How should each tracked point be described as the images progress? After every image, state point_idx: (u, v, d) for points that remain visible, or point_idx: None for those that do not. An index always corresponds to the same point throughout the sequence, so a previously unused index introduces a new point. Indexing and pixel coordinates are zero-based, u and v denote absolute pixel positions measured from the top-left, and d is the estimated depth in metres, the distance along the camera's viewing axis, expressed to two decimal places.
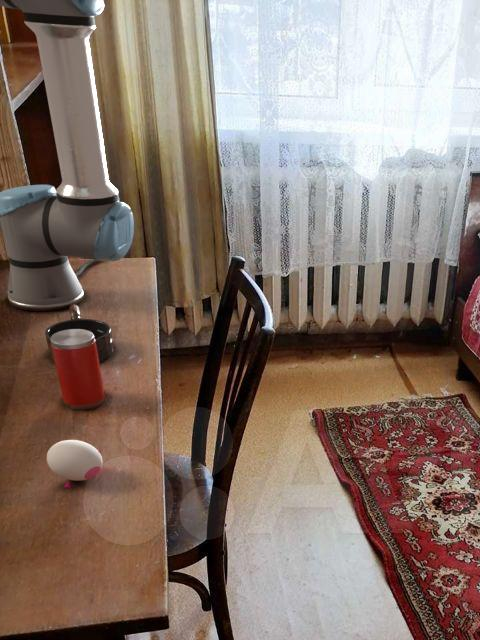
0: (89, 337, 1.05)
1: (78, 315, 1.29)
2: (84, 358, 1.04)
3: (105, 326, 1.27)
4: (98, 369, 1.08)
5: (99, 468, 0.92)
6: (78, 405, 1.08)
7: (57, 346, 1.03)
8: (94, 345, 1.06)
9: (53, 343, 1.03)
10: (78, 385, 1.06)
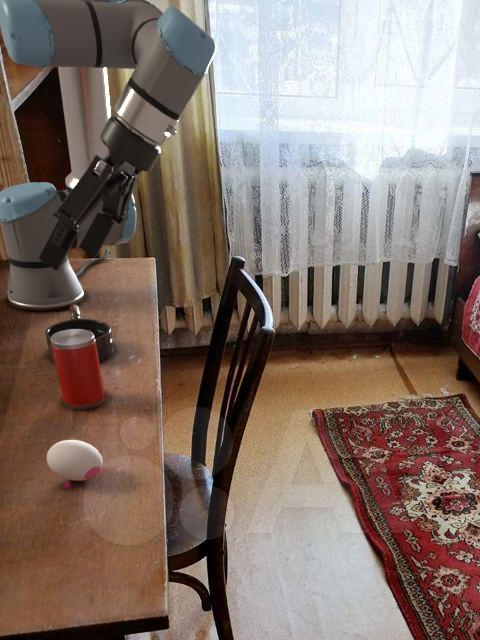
0: (89, 337, 1.05)
1: (78, 315, 1.29)
2: (84, 358, 1.04)
3: (105, 326, 1.27)
4: (98, 369, 1.08)
5: (99, 468, 0.92)
6: (78, 405, 1.08)
7: (57, 346, 1.03)
8: (94, 345, 1.06)
9: (53, 343, 1.03)
10: (78, 385, 1.06)
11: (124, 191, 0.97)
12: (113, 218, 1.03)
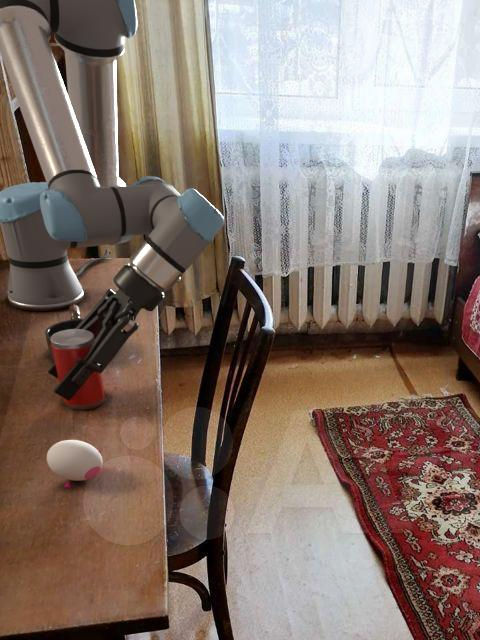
0: (89, 337, 1.05)
1: (78, 315, 1.29)
2: None
3: None
4: None
5: (99, 468, 0.92)
6: (78, 405, 1.08)
7: (57, 346, 1.03)
8: None
9: (53, 343, 1.03)
10: None
11: None
12: None
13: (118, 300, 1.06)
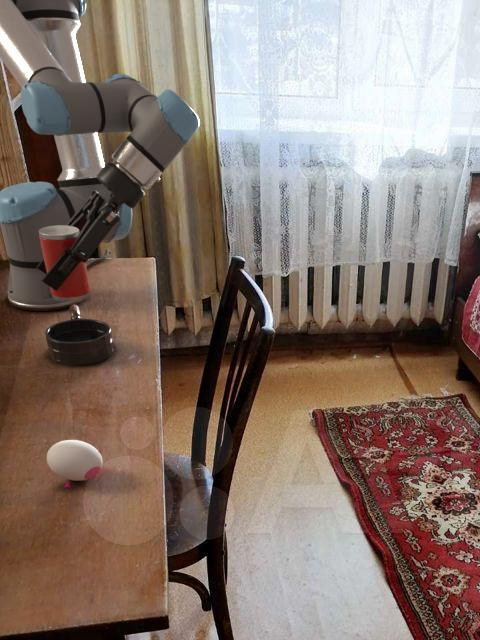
0: (75, 231, 1.13)
1: (78, 315, 1.29)
2: None
3: (105, 326, 1.27)
4: (83, 263, 1.16)
5: (99, 468, 0.92)
6: (65, 297, 1.16)
7: (45, 237, 1.11)
8: None
9: (41, 234, 1.11)
10: None
11: None
12: None
13: (101, 197, 1.14)
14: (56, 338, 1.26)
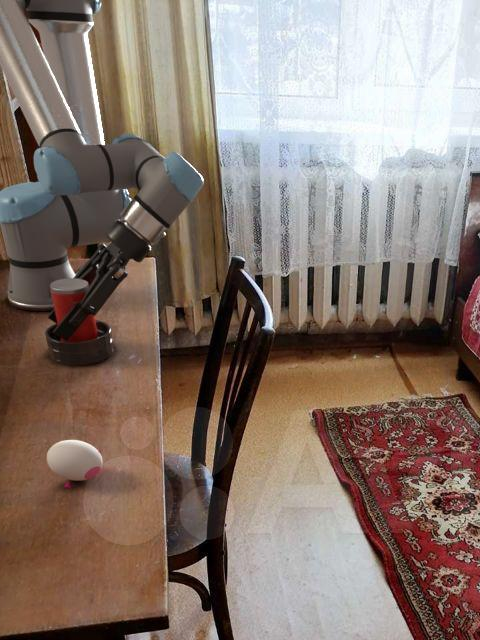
0: (84, 284, 1.19)
1: None
2: None
3: (105, 326, 1.27)
4: None
5: (99, 468, 0.92)
6: None
7: (56, 291, 1.16)
8: None
9: (52, 289, 1.17)
10: None
11: None
12: None
13: (110, 252, 1.19)
14: (56, 338, 1.26)
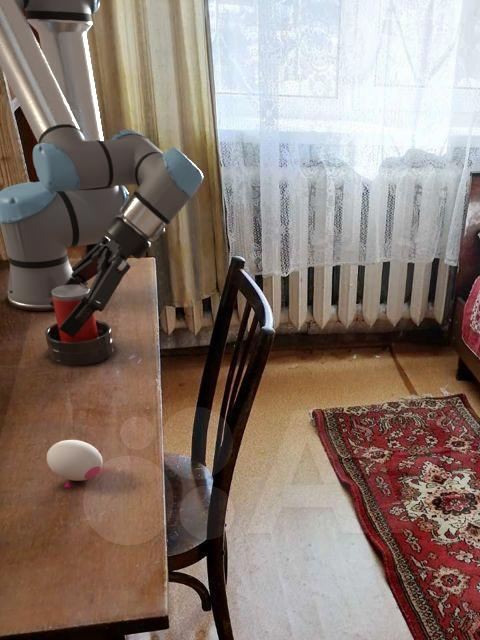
0: (85, 291, 1.20)
1: None
2: None
3: (105, 326, 1.27)
4: (93, 320, 1.23)
5: (99, 468, 0.92)
6: None
7: (57, 298, 1.17)
8: None
9: (54, 295, 1.17)
10: None
11: None
12: (82, 282, 1.26)
13: (109, 248, 1.19)
14: (56, 338, 1.26)
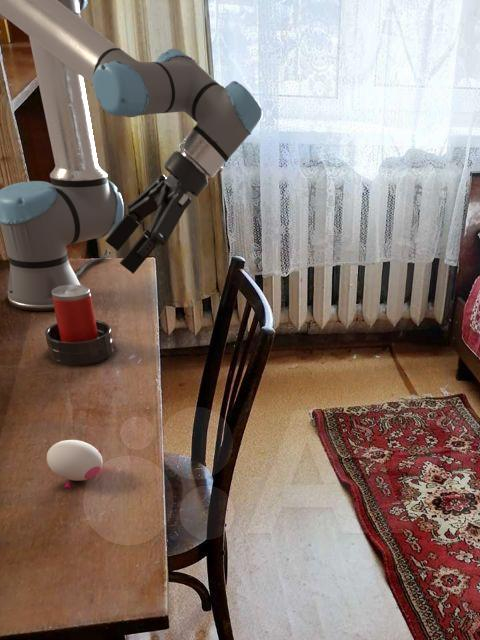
0: (85, 291, 1.20)
1: None
2: (80, 309, 1.19)
3: (105, 326, 1.27)
4: (93, 320, 1.23)
5: (99, 468, 0.92)
6: None
7: (57, 298, 1.17)
8: (90, 298, 1.20)
9: (54, 295, 1.17)
10: (75, 333, 1.21)
11: None
12: (137, 220, 1.25)
13: (167, 185, 1.18)
14: (56, 338, 1.26)
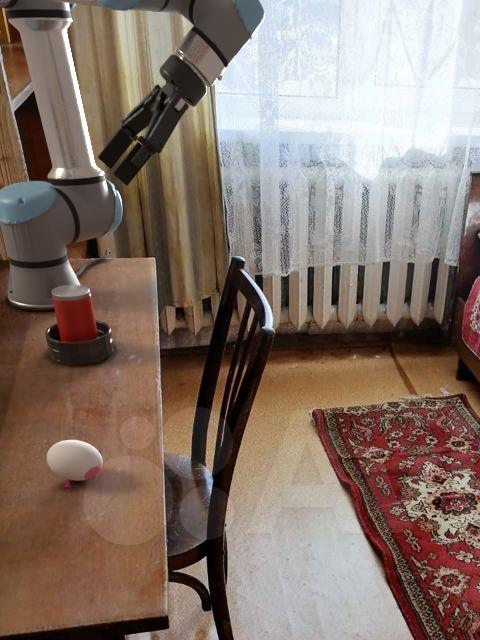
0: (85, 291, 1.20)
1: None
2: (80, 309, 1.19)
3: (105, 326, 1.27)
4: (93, 320, 1.23)
5: (99, 468, 0.92)
6: None
7: (57, 298, 1.17)
8: (90, 298, 1.20)
9: (54, 295, 1.17)
10: (75, 333, 1.21)
11: None
12: (131, 135, 1.17)
13: (163, 93, 1.10)
14: (56, 338, 1.26)
